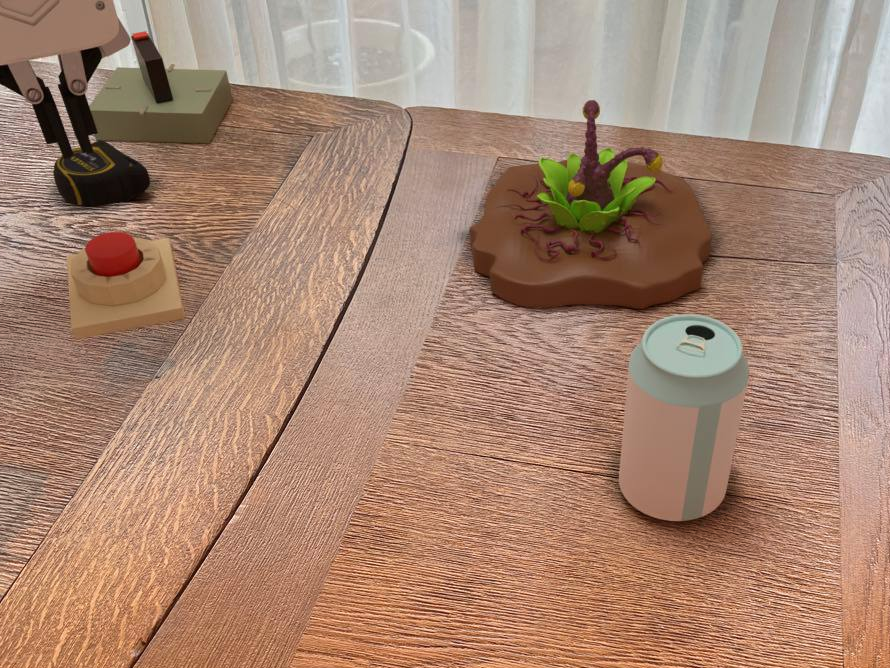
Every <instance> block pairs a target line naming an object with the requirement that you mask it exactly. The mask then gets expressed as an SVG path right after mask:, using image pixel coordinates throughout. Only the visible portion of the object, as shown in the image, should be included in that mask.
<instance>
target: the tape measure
mask: <svg viewBox="0 0 890 668" xmlns="http://www.w3.org/2000/svg"><path fill="white" fill-rule="evenodd" d="M91 145H92V148H93V151H94V153H92V154H88V155H87V154H86V153H83V152H82V150H81V148H80V146H79V147H75V148H72V151H73V154H74V155H73V156H71V157H72V158H70V159H65V160H64V158H63V156H62V155H60V156H59V157H58V158H57V159H56V160H55V161H54V164H53V171H52V176H53V179H54V183H55V185H56V188H57V191H58V193H59V195H60V196H61V198H62V199H64V201H66V202H69V203H71V204H72V205H73V204H74V205H77V206H81V207H84V208H88V207H94V208H96V207H102V206H108V205H112V204H116V203H122V204H124V203H128V202H129V201H130V200H132V199H133V198H135V197H137V196H138V195H141V194H142V193H144V192H146V191H147V190H148V189H149V187H150V186H151V178H150V175H149V172H148V170H147V168H146V167H145V166H144V165H143V164H142V163H140V161H138V160H137V159H134V158H133V157H130V156H129V155H127V154H125V153H123V152H122V151H121V150H119V149H117V148H116V147H114V146H113V145H112V144H110V143H109V142H107V141H106V140H96V141H94V142H91Z"/></svg>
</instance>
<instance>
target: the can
mask: <svg viewBox="0 0 890 668" xmlns="http://www.w3.org/2000/svg"><path fill="white" fill-rule="evenodd" d="M641 338H642V339H641V340H640V342H639V343H638V344H637V345H636V346H635V347H634V348H633V350H632V352H631V354H630V355H629V360H628V368H627V369H628V370H627V379H626V389H625V391H626V392H625V403H624V414H623V424H622V425H623V426H622V437H621V450H620V458H619V459H620V462H619V471H618V472H619V473H618V485H619V488H620V492H621V494H622V495H623V497H624V498H625V499H626V501H627V502H628V504H630V505H631V506H632V507H634V508H635V509H636V510H637V511H639V512H641V513H643V514H645V515H647V516H650V517H652V518H655V519H659V520H663V521H669V522H685V521H686V522H687V521H692V520H695V519H699V518H702V517H705V516H707V515H708V514H711V513H712V512H713V511H715V510H716V509H717V508H718V507H719V506H720V505H721V503H722V502H723V500H724V499H725V497H726V493H727V489H728V484H729V479H730V474H731V470H732V463H733V459H734V454H735V449H736V444H737V439H738V433H739V429H740V425H741V418H742V415H743V409H744V404H745V400H746V394H747V390H748V389H747V388H748V383H749V380H750V379H749V378H750V367H749V363H748V360H747V358H746V355H745V354H744V352H743V349H744V347H743V343H742V340H741V338H740V336H739V335H738V334H737V333H736V331H735V330H733V329H732V327H730V326H728V325H727V324H725V323H724V322H722V321H720V320H719V319H715V318H713V317H710V316H706V315H701V314H690V313H684V314H682V313H681V314H675V315H674V314H673V315H670V316H667V317H663V318H661V319H659V320H657V321H655V322H653V323H652V324H651V325H649V327H647V328H646V329H645V331H644V333H643V335H642V337H641Z"/></svg>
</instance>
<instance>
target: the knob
mask: <svg viewBox="0 0 890 668" xmlns="http://www.w3.org/2000/svg"><path fill="white" fill-rule="evenodd" d="M131 34H132V35H131V36H130V39H131V42H132V45H133V49H134V52H135V57H136V59H137V62H138V66H139V68H140V70H141V73H142V77H143V79H144V81H145V83H146V84H147V86H148V88H149V90H150V92H151V94H152V96H153V97H154V99H155V101H156V103H161V102H166V101H171V100H173V96H172V93H171V89H170V85H169V81H168V78H167V74H166V70H165V69H166V67H165V63H164V60H163V57H162V56H161V53H160V51H159V50H158V48H157V46H156V45H155V43H154V41H153V39H152V38H151V36H150V35H149V33H148V32H147V31H146V30H144V31H140V32H134V33H131Z"/></svg>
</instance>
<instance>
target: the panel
mask: <svg viewBox="0 0 890 668" xmlns="http://www.w3.org/2000/svg"><path fill="white" fill-rule="evenodd" d="M175 66H176V64H175V63H171V64H170V65H169V66H168V68H165V70H166V74H167V78H168V81H169V85H170V89H171V93H172V96H173V100H171V101H166V102H161V103H156V101H155V99H154V97H153V96H152V94H151V92H150V90H149V88H148V86H147V84H146V83H145V81H144V79H143V77H142V73H141V70H140V67H122V66H121V67H119V66H117V67H116V68H115V69H114V71H113V72H112V74H111V75H110V76H109V78H108V79H107V81H106V82H105V83H104V84H103V86H102V87H101V89H100V90H99V92H98V93H97V94H96V96H95V97H94V99H93V100H92V101H91V103H90V104H89V107H90V110H91V113H92V116H93V119H94V122H95V125H96V128H97V131H98V134H94V135H93V136H94V137H95V140H96V141H98V140H102V141H109V142H110V141H114V142H115V141H116V142H144V143H145V142H146V143H177V144H179V143H180V144H181V143H182V144H210V143H211V141H212V140H213V138H214V136H215V134H216V132H217V131H218V128H219V127H220V124H221V122H222V121H223V119H224V117H225V115H226V114H227V112H228V109H229V108H230V106H231V104H232V102H233V101H234V99H233V95H232V89H231V86H230V80H229V77H228V71H227V70H225V69H223V70H222V69H192V68H191V69H189V68H188V69H187V68H175Z"/></svg>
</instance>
